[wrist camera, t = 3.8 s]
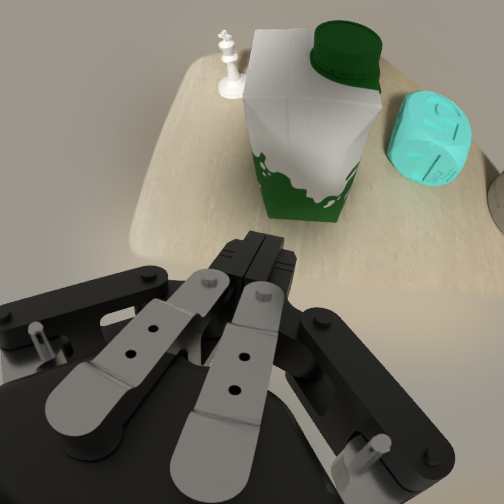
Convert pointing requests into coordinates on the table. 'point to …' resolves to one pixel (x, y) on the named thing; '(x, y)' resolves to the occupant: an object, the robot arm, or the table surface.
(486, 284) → the table surface
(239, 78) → the chess piece
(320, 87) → the soya milk
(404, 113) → the decorative dice
